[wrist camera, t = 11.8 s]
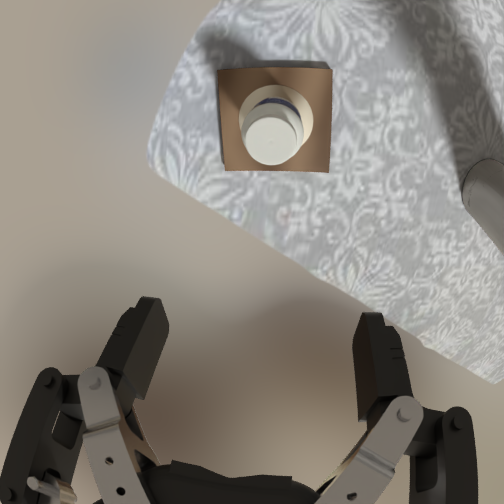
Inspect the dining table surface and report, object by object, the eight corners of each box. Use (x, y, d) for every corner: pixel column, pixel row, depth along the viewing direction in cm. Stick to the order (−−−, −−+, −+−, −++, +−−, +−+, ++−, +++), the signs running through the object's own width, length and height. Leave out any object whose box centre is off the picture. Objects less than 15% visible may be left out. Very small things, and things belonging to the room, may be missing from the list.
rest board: (331, 69, 25) (332, 69, 24) (327, 169, 32) (328, 172, 32) (219, 69, 27) (217, 70, 26) (226, 168, 34) (224, 171, 33)
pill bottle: (256, 91, 27) (242, 100, 19) (306, 103, 27) (314, 118, 19) (246, 137, 30) (229, 165, 22) (293, 148, 30) (295, 181, 23)
